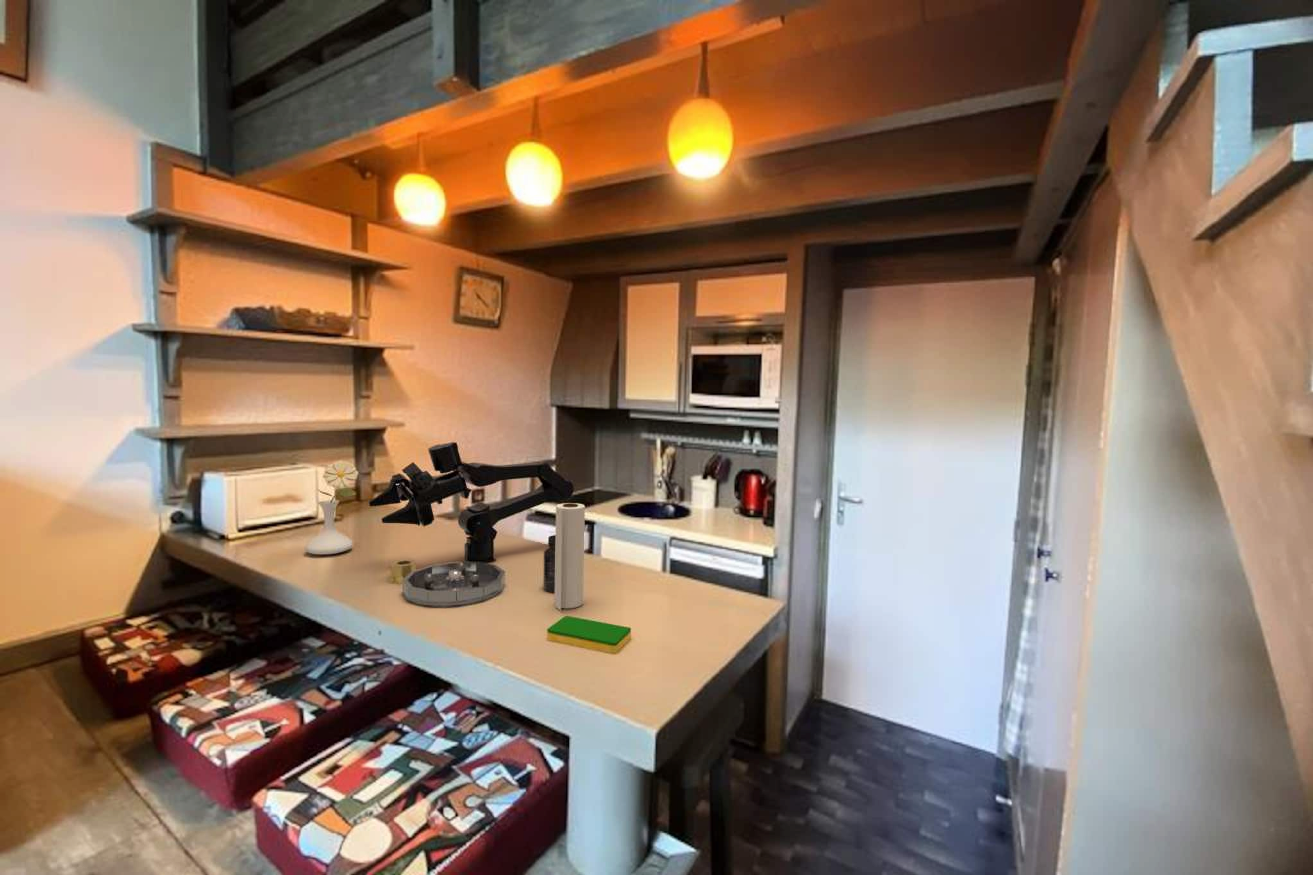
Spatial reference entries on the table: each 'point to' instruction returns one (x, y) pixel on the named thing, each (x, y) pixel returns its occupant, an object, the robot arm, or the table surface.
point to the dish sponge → (589, 634)
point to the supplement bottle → (549, 566)
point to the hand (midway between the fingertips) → (375, 512)
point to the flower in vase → (333, 510)
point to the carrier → (453, 584)
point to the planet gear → (401, 570)
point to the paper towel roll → (569, 555)
